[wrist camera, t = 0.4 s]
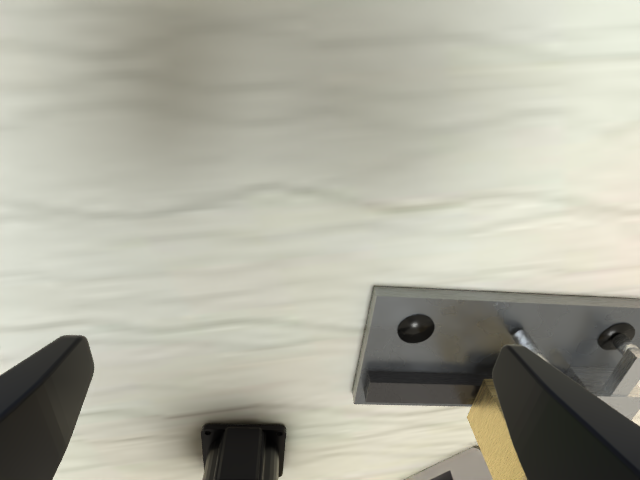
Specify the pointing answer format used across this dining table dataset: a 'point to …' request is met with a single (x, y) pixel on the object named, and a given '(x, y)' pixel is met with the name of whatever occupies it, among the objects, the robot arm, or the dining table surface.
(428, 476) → the charger
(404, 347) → the dividers base
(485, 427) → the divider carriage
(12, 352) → the dining table surface
